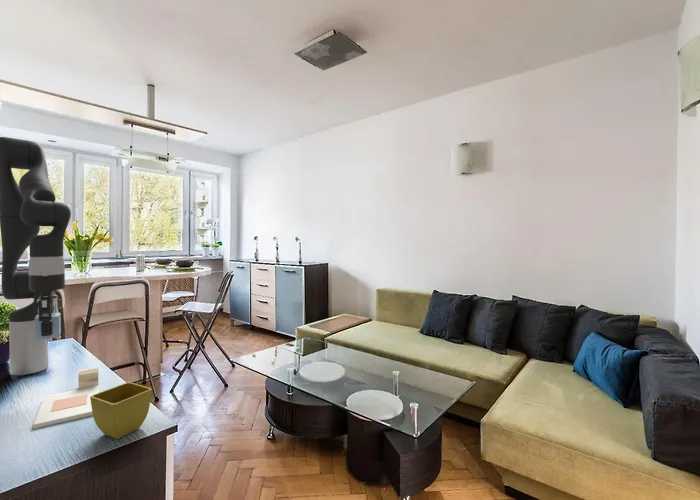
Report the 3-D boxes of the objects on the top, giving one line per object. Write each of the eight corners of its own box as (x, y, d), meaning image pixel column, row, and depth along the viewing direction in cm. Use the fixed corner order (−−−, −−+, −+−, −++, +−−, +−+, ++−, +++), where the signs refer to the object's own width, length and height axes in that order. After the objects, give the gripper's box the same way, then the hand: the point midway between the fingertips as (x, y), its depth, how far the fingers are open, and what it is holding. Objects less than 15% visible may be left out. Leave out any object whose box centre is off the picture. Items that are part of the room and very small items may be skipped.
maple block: (79, 387, 101) (79, 370, 101) (98, 383, 104) (98, 367, 104) (78, 392, 97) (78, 374, 97) (98, 388, 100) (98, 371, 100)
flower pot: (153, 426, 79) (153, 388, 79) (114, 447, 71) (113, 404, 71) (129, 418, 83) (128, 381, 83) (89, 436, 75) (88, 396, 75)
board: (44, 399, 93) (44, 395, 93) (99, 388, 100) (99, 385, 100) (33, 429, 78) (33, 424, 78) (98, 413, 85) (98, 409, 85)
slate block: (37, 335, 97) (37, 314, 96) (60, 332, 99) (60, 312, 99) (35, 340, 93) (34, 318, 92) (59, 337, 95) (58, 316, 95)
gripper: (33, 271, 99) (34, 329, 99) (23, 275, 87) (25, 341, 88) (66, 270, 103) (67, 326, 104) (62, 274, 92) (63, 337, 92)
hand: (48, 333), depth 96 cm, fingers closed on slate block, 5 cm apart
